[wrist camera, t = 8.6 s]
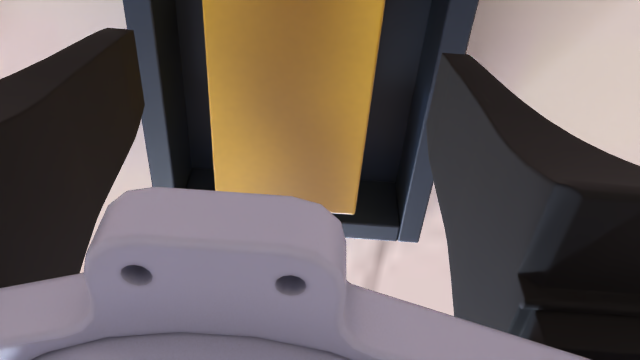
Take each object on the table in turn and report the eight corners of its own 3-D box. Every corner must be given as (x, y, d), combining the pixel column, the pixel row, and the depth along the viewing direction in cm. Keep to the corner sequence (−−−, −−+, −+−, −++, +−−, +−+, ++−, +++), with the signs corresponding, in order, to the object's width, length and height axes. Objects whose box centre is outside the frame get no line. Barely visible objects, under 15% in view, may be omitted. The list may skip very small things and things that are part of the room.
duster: (233, 127, 22) (209, 217, 18) (219, -239, 14) (175, -213, 11) (357, 136, 22) (359, 228, 18) (404, -224, 15) (424, -193, 11)
